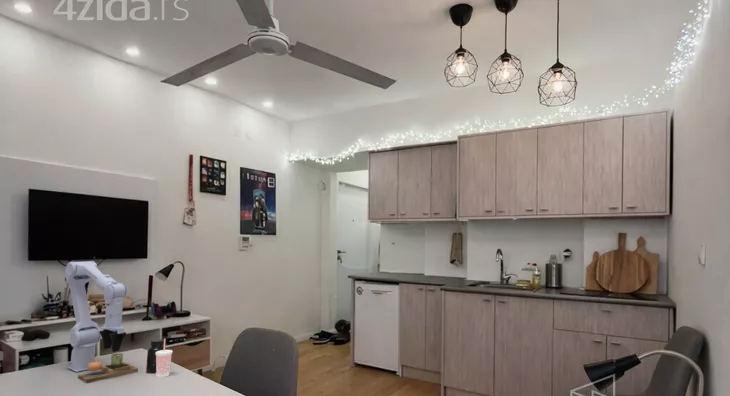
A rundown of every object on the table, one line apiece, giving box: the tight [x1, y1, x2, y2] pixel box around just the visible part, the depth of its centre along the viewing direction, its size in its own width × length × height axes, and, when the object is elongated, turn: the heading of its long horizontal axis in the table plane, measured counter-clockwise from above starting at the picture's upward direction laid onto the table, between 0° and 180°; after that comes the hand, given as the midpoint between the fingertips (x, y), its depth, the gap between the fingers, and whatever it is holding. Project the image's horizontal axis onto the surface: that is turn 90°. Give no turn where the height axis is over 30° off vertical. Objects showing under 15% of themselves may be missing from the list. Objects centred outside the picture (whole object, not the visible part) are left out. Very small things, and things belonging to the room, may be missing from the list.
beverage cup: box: [155, 338, 174, 378], centre depth 166 cm, size 6×6×14 cm
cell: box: [110, 351, 124, 369], centre depth 168 cm, size 4×4×7 cm
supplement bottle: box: [145, 338, 167, 374], centre depth 172 cm, size 7×7×12 cm
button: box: [87, 360, 103, 372], centre depth 162 cm, size 4×4×2 cm
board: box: [77, 361, 139, 384], centre depth 166 cm, size 9×18×3 cm, turn 142°
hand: (111, 349), depth 167 cm, fingers open, 7 cm apart
